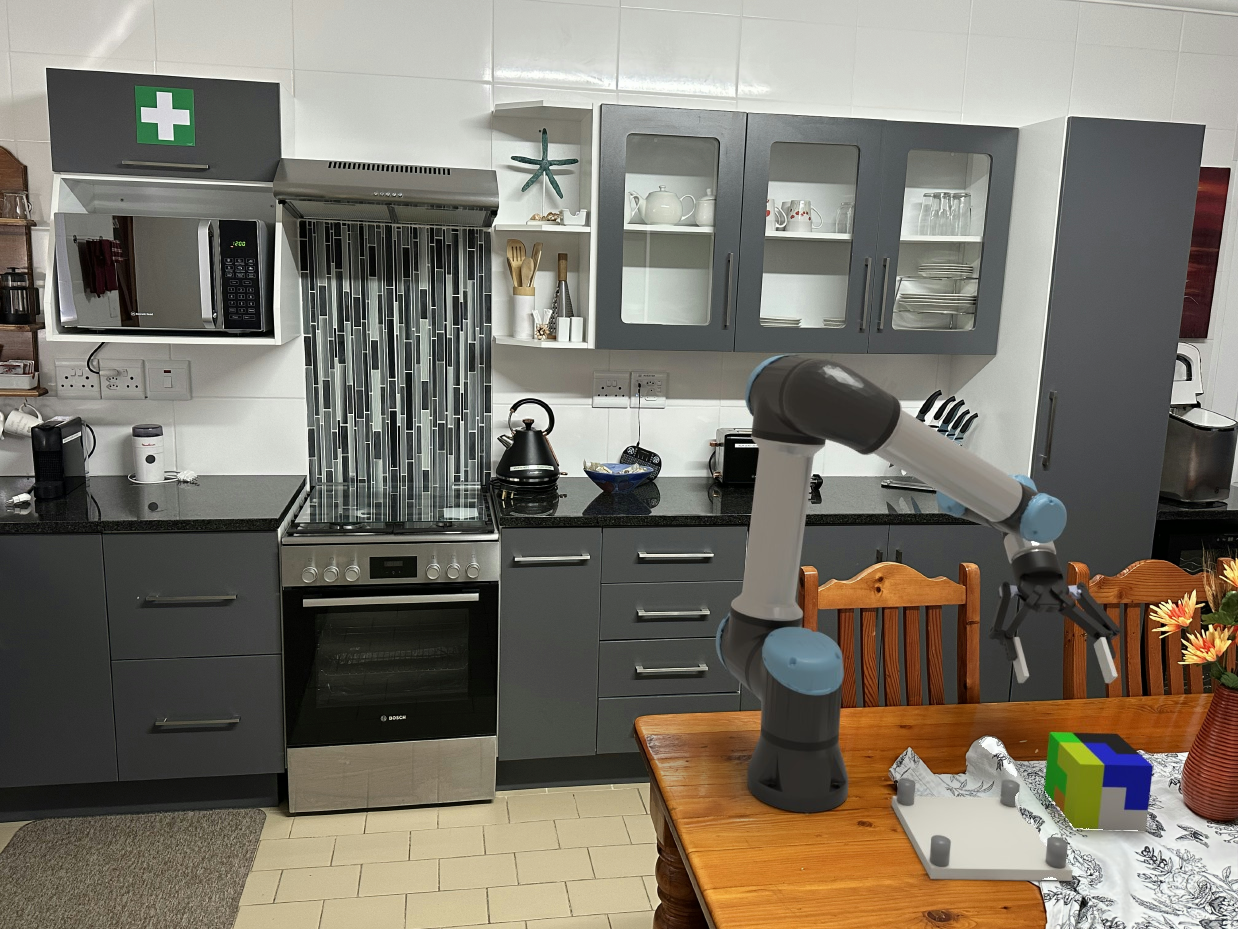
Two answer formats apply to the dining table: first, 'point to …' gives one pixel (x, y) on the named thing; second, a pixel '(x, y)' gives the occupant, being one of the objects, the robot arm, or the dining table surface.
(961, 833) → the stub base
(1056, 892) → the dining table surface
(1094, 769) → the puzzle toy
